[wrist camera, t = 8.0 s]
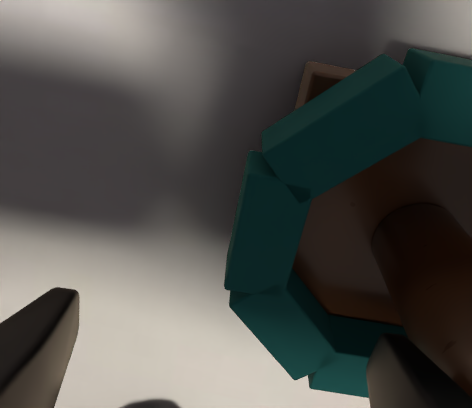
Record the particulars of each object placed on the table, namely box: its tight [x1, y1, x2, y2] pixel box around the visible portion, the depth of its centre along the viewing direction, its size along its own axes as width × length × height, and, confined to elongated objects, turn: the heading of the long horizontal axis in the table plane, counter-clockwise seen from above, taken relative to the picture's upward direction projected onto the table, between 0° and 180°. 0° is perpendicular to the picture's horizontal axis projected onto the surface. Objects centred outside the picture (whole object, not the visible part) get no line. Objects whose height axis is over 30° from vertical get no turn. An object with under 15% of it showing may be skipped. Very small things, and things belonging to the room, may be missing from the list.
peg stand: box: [292, 61, 472, 397], centre depth 10 cm, size 8×8×8 cm
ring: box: [224, 48, 472, 398], centre depth 12 cm, size 10×10×2 cm
